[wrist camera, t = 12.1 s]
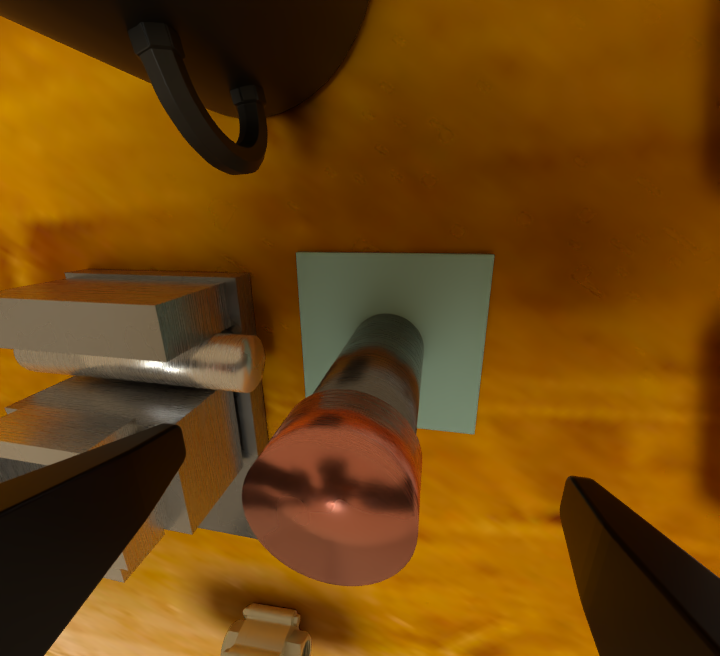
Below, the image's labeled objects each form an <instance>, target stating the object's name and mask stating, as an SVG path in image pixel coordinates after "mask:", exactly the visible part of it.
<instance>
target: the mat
mask: <svg viewBox="0 0 720 656" xmlns="http://www.w3.org/2000/svg"><path fill="white" fill-rule="evenodd" d="M494 256H495V255H494V254H452V253H370V252H296V263H297V277H298V292H299V306H300V321H301V335H302V350H303V364H304V379H305V393H306V398H307V397H308V396H310V395H312V394H313V392H314V391H315V389H316V388H317V386H318V385H319V384H320V382H321V381H322V379H323V378H324V376H325V375H326V373H327V372H328V370H329V369H330V367H331V366H332V364H333V363H334V361H335V360H336V358H337V357H338V355H339V354H340V352H341V351H342V349H343V348H344V346H345V345H346V344H347V342H348V341H349V339H350V338H351V336H352V335H353V333H354V332H355V330H356V329H357V327H358V326H359V325H360V324H361V323H362V322H363V321H364V320H365V319H367V318H369V317H371V316H373V315H377V314H383V313H388V314H395V315H398V316H401V317H403V318H405V319H407V320H408V321H410V322H411V323H412V324H413V325H414V326H415V327H416V328H417V329H418V331H419V333H420V335H421V337H422V339H423V344H424V357H423V367H422V378H421V389H420V399H419V410H418V421H417V428H422V429H431V430H440V431H449V432H458V433H467V434H474V433H475V424H476V415H477V406H478V398H479V389H480V380H481V371H482V362H483V353H484V344H485V336H486V327H487V318H488V309H489V300H490V291H491V282H492V274H493V265H494Z"/></svg>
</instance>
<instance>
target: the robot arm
mask: <svg viewBox="0 0 720 656" xmlns="http://www.w3.org/2000/svg"><path fill="white" fill-rule="evenodd" d="M185 458H186V447H185V442H184V438H183V433H182V429H181V427H180V426H179V425H176V424H169V423H162V424H159V425H157V426H154V427H151V428H148V429H146V430H143V431H140V432H138V433H135V434H132V435H129V436H127V437H124V438H121V439H119V440H116V441H113V442H110V443H108V444H105V445H102V446H100V447H97V448H94V449H91V450H89V451H86V452H83V453H81V454H78V455H75V456H72V457H70V458H67V459H64V460H62V461H59V462H56V463H53V464H51V465H48V466H45V467H43V468H40V469H37V470H35V471H32V472H29V473H26V474H24V475H21V476H18V477H16V478H13V479H10V480H7V481H5V482H2V483H0V656H44V655H45V654H46V652H47V651H48V650H49V648H50V647H51V646H52V644H53V643H54V642H55V641H56V639H57V638H58V637H59V635H60V634H61V633H62V631H63V630H64V629H65V627H66V626H67V625H68V623H69V622H70V621H71V619H72V618H73V617H74V615H75V614H76V613H77V611H78V610H79V609H80V607H81V606H82V605H83V603H84V602H85V601H86V600H87V598H88V597H89V596H90V594H91V593H92V592H93V590H94V589H95V588H96V586H97V585H98V584H99V582H100V581H101V580H102V578H103V577H104V576H105V574H106V573H107V572H108V570H109V569H110V568H111V566H112V565H113V564H114V563H115V561H116V560H117V559H118V557H119V556H120V555H121V553H122V552H123V551H124V549H125V548H126V547H127V545H128V544H129V543H130V541H131V540H132V539H133V537H134V536H135V535H136V533H137V532H138V531H139V529H140V528H141V527H142V525H143V524H144V523H145V521H146V520H147V519H148V517H149V516H150V514H151V513H152V511H153V510H154V508H155V506H156V505H157V503H158V502H159V500H160V499H161V497H162V495H163V494H164V492H165V491H166V489H167V488H168V486H169V484H170V483H171V481H172V480H173V478H174V476H175V475H176V473H177V472H178V470H179V469H180V467H181V465H182V464H183V462H184V460H185ZM560 519H561V523H562V527H563V531H564V535H565V539H566V543H567V548H568V552H569V556H570V560H571V564H572V568H573V572H574V576H575V580H576V584H577V588H578V592H579V596H580V600H581V603H582V606H583V609H584V612H585V615H586V618H587V621H588V624H589V627H590V630H591V633H592V636H593V638H594V641H595V644H596V647H597V650H598V653H599V655H600V656H720V578H719V577H717V576H716V575H715V574H713V573H712V572H711V571H710V570H708V569H707V568H706V567H704V566H703V565H702V564H701V563H699V562H698V561H697V560H696V559H694V558H693V557H692V556H690V555H689V554H688V553H687V552H685V551H684V550H683V549H681V548H680V547H679V546H678V545H676V544H675V543H674V542H672V541H671V540H670V539H669V538H667V537H666V536H665V535H663V534H662V533H661V532H660V531H658V530H657V529H656V528H655V527H653V526H652V525H651V524H649V523H648V522H647V521H646V520H644V519H643V518H642V517H640V516H639V515H638V514H637V513H635V512H634V511H633V510H631V509H630V508H629V507H628V506H626V505H625V504H624V503H623V502H621V501H620V500H619V499H617V498H616V497H615V496H614V495H612V494H611V493H610V492H608V491H607V490H606V489H605V488H603V487H602V486H601V485H599V484H598V483H597V482H596V481H594V480H593V479H591V478H585V477H578V476H570V477H568V478H567V480H566V483H565V487H564V491H563V496H562V500H561V505H560Z"/></svg>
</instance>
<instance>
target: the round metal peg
mask: <svg viewBox="0 0 720 656" xmlns="http://www.w3.org/2000/svg"><path fill="white" fill-rule="evenodd" d="M423 357H424V344H423V339H422V337H421V335H420V333H419V331H418V329H417V328H416V327H415V326H414V325H413V324H412V323H411V322H410V321H408V320H407V319H405V318H403V317H401V316H398V315H395V314H388V313H383V314H377V315H373V316H371V317H369V318H367V319H365V320H364V321H363V322H362V323H361V324H360V325H359V326H358V327H357V329H356V330H355V332H354V333H353V335H352V336H351V338H350V339H349V341H348V342H347V344H346V345H345V346H344V348H343V349H342V351H341V352H340V354H339V355H338V357H337V358H336V360H335V361H334V363H333V364H332V366H331V367H330V369H329V370H328V372H327V373H326V375H325V376H324V378H323V379H322V381H321V382H320V384H319V385H318V386H317V388H316V389H315V391H314V392H313V394H312V395H310V396H308V397H307V398H305V399H303V400H302V401H301V402H299V403H298V404H297V405H296V406H295V407H294V408H293V409H292V411H291V412H290V414H289V415H288V416H287V418H286V419H285V420H284V422H283V423H282V425H281V426H280V427H279V429H278V430H277V432H276V433H275V434H274V436H273V437H272V438H271V440H270V441H269V443H268V444H267V445H266V447H265V448H264V449H263V451H262V452H261V454H260V455H259V456H258V458H257V459H256V461H255V462H254V463H253V465H252V466H251V468H250V469H249V471H248V472H247V475H246V477H245V479H244V483H243V487H242V505H243V509H244V513H245V516H246V519H247V521H248V524H249V526H250V527H251V529H252V531H253V533H254V534H255V536H256V537H257V539H258V540H259V541H260V542H261V544H262V545H263V546H264V547H265V548H266V549H267V550H268V551H269V552H270V553H271V554H272V555H273V556H274V557H276V558H277V559H278V560H279V561H281V562H282V563H284V564H285V565H286V566H288V567H289V568H291V569H293V570H295V571H297V572H298V573H300V574H303V575H305V576H307V577H309V578H312V579H315V580H318V581H321V582H325V583H329V584H335V585H342V586H362V585H369V584H374V583H377V582H381V581H383V580H385V579H388V578H390V577H391V576H393V575H395V574H396V573H398V572H399V571H400V570H401V569H402V568H404V566H405V565H406V564H407V563H408V562H409V560H410V558H411V557H412V555H413V553H414V550H415V547H416V544H417V537H418V522H419V505H420V488H421V472H422V452H421V447H420V444H419V441H418V438H417V436H416V431H417V421H418V410H419V399H420V389H421V378H422V367H423Z"/></svg>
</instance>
